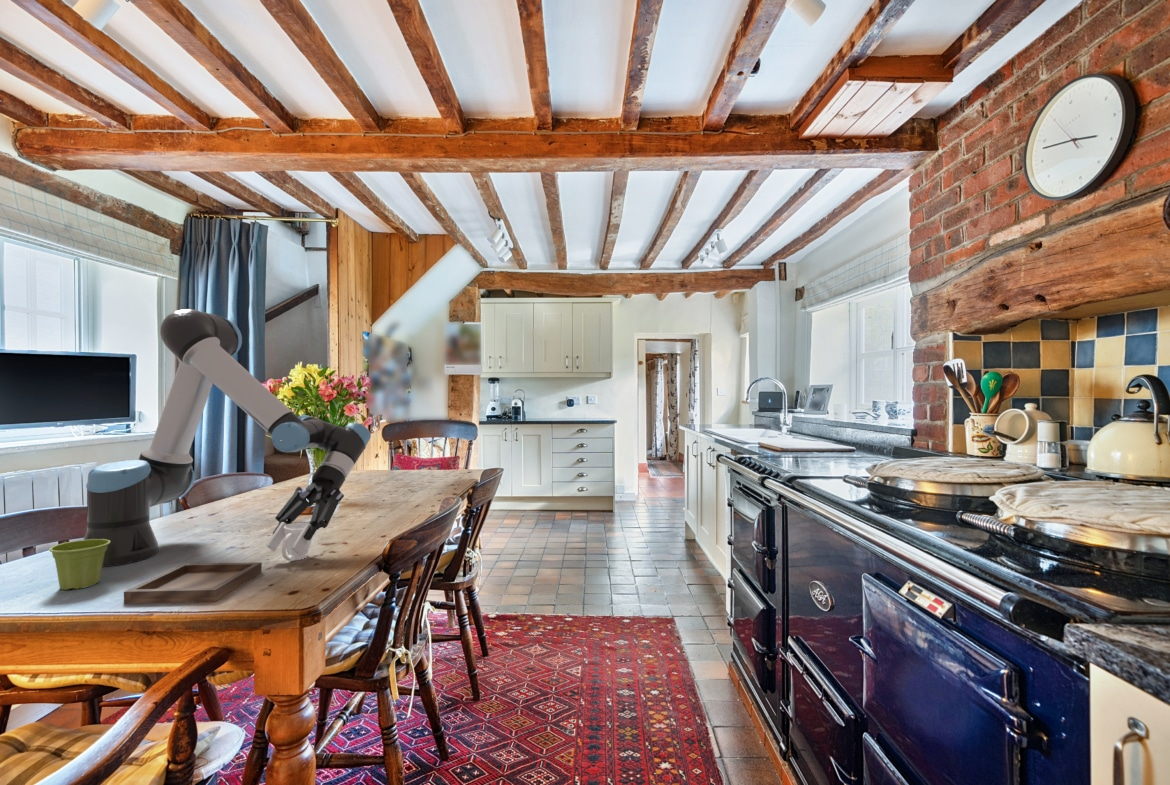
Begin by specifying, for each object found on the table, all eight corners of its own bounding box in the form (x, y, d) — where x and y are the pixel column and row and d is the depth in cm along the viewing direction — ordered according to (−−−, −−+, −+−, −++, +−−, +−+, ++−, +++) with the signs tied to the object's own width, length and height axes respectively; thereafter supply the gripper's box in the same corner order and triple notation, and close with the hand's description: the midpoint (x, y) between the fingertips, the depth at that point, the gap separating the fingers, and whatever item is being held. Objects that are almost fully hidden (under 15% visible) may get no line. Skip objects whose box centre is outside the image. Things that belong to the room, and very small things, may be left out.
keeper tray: (123, 603, 103) (123, 591, 103) (183, 573, 120) (183, 563, 120) (215, 601, 104) (215, 589, 104) (261, 572, 121) (261, 562, 121)
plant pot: (95, 575, 119) (95, 536, 119) (119, 581, 115) (119, 541, 115) (39, 589, 110) (39, 547, 110) (64, 596, 107) (64, 553, 107)
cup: (319, 553, 135) (320, 522, 135) (297, 567, 125) (298, 533, 125) (292, 552, 136) (293, 520, 135) (268, 565, 126) (269, 531, 125)
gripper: (370, 482, 143) (324, 561, 127) (310, 478, 148) (259, 554, 132) (356, 465, 137) (307, 545, 122) (295, 462, 143) (240, 538, 127)
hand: (282, 549), depth 127 cm, fingers closed on cup, 7 cm apart
